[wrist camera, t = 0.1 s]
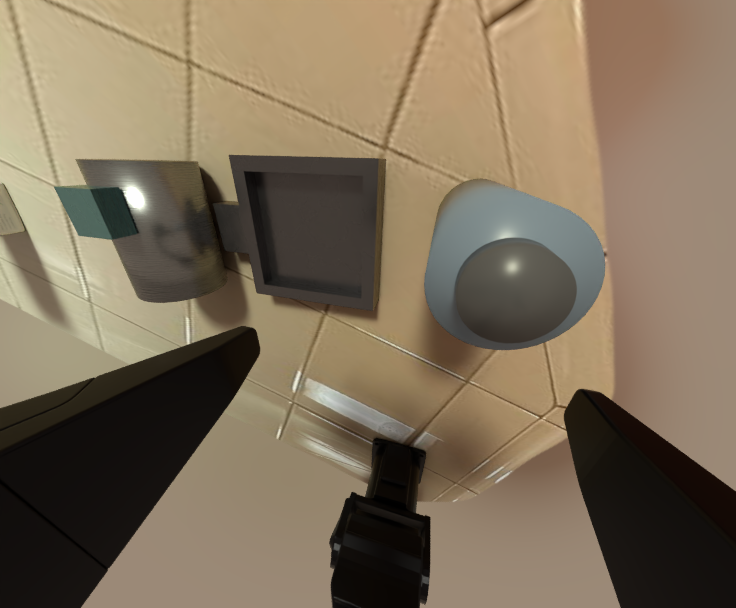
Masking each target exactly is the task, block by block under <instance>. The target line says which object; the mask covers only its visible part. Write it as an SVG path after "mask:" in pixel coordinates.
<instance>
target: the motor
mask: <svg viewBox="0 0 736 608" xmlns="http://www.w3.org/2000/svg"><path fill="white" fill-rule="evenodd" d="M229 159H230V164H231V169H232V174H233V178H234V183H235V188H236V193H237V198H238V202H234V201H224V202H218V203H213V206H214V210H215V214H216V218H217V222H218V226H219V230H220V234H221V238H222V242H223V246H224V250H225V251H231V252H240V253H248V254H249V258H250V263H251V268H252V272H253V277H254V282H255V287H256V292H257V293H259V294H266V295H272V296H279V297H285V298H292V299H298V300H305V301H311V302H318V303H324V304H330V305H337V306H343V307H350V308H356V309H363V310H369V311H373V310H374V308H375V306H376V304H377V302H378V300H379V286H380V266H381V245H382V225H383V205H384V185H385V164H386V159H375V158H334V157H292V156H250V155H229ZM75 160H76V162H77V164H78V166H79V168H80V171H81V173H82V175H83V177H84V180H85V182H86V184H87V185H76V186H58V187H54V188H55V190H56V192H57V194H58V196H59V198H60V200H61V202H62V204H63V206H64V208H65V210H66V212H67V213H68V215H69V217H70V219H71V221H72V223H73V225H74V227H75V229H76V231H77V233H78V235H79V236H86V237H94V238H102V239H111V240H112V242H113V244H114V246H115V248H116V251H117V253H118V255H119V257H120V259H121V262H122V264H123V266H124V268H125V271H126V273H127V275H128V277H129V279H130V282H131V284H132V286H133V288H134V290H135V293H136V295H137V297H138V298H139V299H141V300H143V301H147V302H156V303H166V302H177V301H183V300H188V299H193V298H197V297H200V296H203V295H206V294H209V293H211V292H213V291H215V290H217V289H219V288H221V287H222V286H223V285H224V284H225V283H226V282H227V274H226V271H225V267H224V263H223V259H222V255H221V251H220V247H219V243H218V239H217V235H216V231H215V227H214V223H213V219H212V215H211V212H210V208H209V204H208V200H207V196H206V192H205V188H204V184H203V180H202V176H201V172H200V168H199V164H198V162H197V161H167V160H117V159H75Z"/></svg>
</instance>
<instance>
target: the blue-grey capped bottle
mask: <svg viewBox="0 0 736 608" xmlns="http://www.w3.org/2000/svg"><path fill="white" fill-rule="evenodd" d="M604 275H605V258H604V252H603V249H602V246H601V243H600V241H599V239H598V237H597V235H596V233H595V232H594V231H593V230H592V228H591V227H590V226H589V225H588V224H587V223H586V222H585V221H584V220H583V219H582V218H581V217H579V216H578V215H576V214H575V213H573V212H571V211H570V210H568V209H565V208H563V207H561V206H558V205H556V204H553V203H550V202H548V201H545V200H542V199H539V198H537V197H534V196H531V195H529V194H526V193H523V192H521V191H518V190H515V189H513V188H510V187H507V186H505V185H502V184H499V183H497V182H494V181H491V180H487V179H473V180H469V181H465V182H463V183H461V184H459V185H457V186H456V187H454V188H453V189H452V190H451V191H450V192H449V193H448V194H447V195H446V196H445V197H444V199H443V201H442V202H441V204H440V206H439V209H438V213H437V218H436V223H435V228H434V233H433V238H432V243H431V248H430V253H429V258H428V263H427V268H426V273H425V283H424V286H425V295H426V300H427V303H428V306H429V308H430V311H431V312H432V314H433V316H434V317H435V319H436V320H437V321H438V323H439V324H440V325H441V326H442V327H443V328H444V329H445V330H446V331H447V332H449V333H450V334H451V335H453V336H454V337H456V338H458V339H459V340H461V341H463V342H466V343H468V344H471V345H474V346H477V347H481V348H486V349H493V350H515V349H522V348H528V347H531V346H535V345H539V344H541V343H544V342H547V341H549V340H551V339H553V338H555V337H557V336H559V335H561V334H562V333H564V332H565V331H567V330H569V329H570V328H571V327H572V326H574V325H575V324H576V323H577V322H578V321H579V320H580V319H581V318H582V317H583V316H584V315H585V314H586V313H587V312H588V310H589V309H590V308H591V307H592V305H593V303H594V302H595V300H596V298H597V297H598V294H599V292H600V290H601V287H602V284H603V280H604Z"/></svg>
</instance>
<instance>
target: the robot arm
mask: <svg viewBox="0 0 736 608" xmlns="http://www.w3.org/2000/svg"><path fill="white" fill-rule="evenodd" d="M259 354H260V345H259V340H258V336H257V332H256V330H255V329H254V328H251V327H246V326H241V327H238V328H235V329H232V330H229V331H226V332H223V333H220V334H218V335H215V336H212V337H209V338H206V339H203V340H200V341H197V342H194V343H192V344H189V345H186V346H183V347H180V348H177V349H174V350H171V351H169V352H166V353H163V354H160V355H157V356H154V357H151V358H148V359H146V360H143V361H140V362H137V363H134V364H131V365H128V366H125V367H122V368H120V369H117V370H114V371H111V372H108V373H105V374H103V375H99V376H97V377H96V378H91V379H88V380H85V381H82V382H79V383H76V384H73V385H71V386H67V387H64V388H61V389H58V390H56V391H53V392H50V393H47V394H44V395H41V396H37V397H34V398H31V399H28V400H25V401H22V402H18V403H15V404H12V405H9V406H6V407H3V408H0V608H81V607H82V605H83V604H84V602H85V601H86V600H87V598H88V597H89V596H90V594H91V593H92V592H93V590H94V589H95V587H96V586H97V585H98V583H99V582H100V581H101V579H102V578H103V577H104V575H105V574H106V572H107V571H108V568H110V566H111V565H112V564H113V562H114V561H115V560H116V558H117V557H118V556H119V554H120V553H121V551H122V550H123V549H124V547H125V546H126V545H127V543H128V542H129V541H130V539H131V538H132V537H133V535H134V534H135V532H136V531H137V530H138V528H139V527H140V526H141V524H142V523H143V521H144V520H145V519H146V517H147V516H148V515H149V513H150V512H151V511H152V509H153V508H154V506H155V505H156V504H157V502H158V501H159V500H160V498H161V497H162V496H163V494H164V493H165V491H166V490H167V488H168V487H169V486H170V485H171V483H172V482H173V480H174V479H175V478H176V476H177V475H178V474H179V472H180V471H181V470H182V468H183V466H184V465H185V464H186V463H187V461H188V460H189V459H190V457H191V456H192V454H193V453H194V452H195V450H196V449H197V447H198V446H199V445H200V444H201V442H202V441H203V439H204V438H205V437H206V435H207V434H208V433H209V431H210V430H211V428H212V427H213V426H214V424H215V423H216V422H217V420H218V419H219V418H220V416H221V415H222V413H223V412H224V411H225V409H226V408H227V407H228V405H229V404H230V402H231V401H232V400H233V398H234V397H235V395H236V393H237V392H238V390H239V389H240V387H241V385H242V384H243V382H244V380H245V379H246V377H247V375H248V373H249V372H250V370H251V368H252V367H253V365H254V363H255V362H256V360H257V358H258V357H259ZM564 422H565V426H566V431H567V435H568V439H569V444H570V448H571V452H572V457H573V461H574V466H575V470H576V475H577V478H578V482H579V486H580V489H581V492H582V495H583V498H584V501H585V504H586V507H587V510H588V513H589V516H590V519H591V522H592V525H593V528H594V530H595V533H596V536H597V539H598V542H599V545H600V548H601V551H602V554H603V557H604V560H605V563H606V566H607V569H608V571H609V575H610V577H611V580H612V583H613V586H614V589H615V592H616V595H617V598H618V601H619V604H620V607H621V608H736V491H734V490H733V489H732V488H730V487H729V486H728V485H726V484H725V483H724V482H722V481H721V480H719V479H718V478H717V477H715V476H714V475H712V474H711V473H710V472H708V471H707V470H706V469H704V468H703V467H702V466H700V465H699V464H698V463H696V462H695V461H694V460H692V459H691V458H689V457H688V456H687V455H685V454H684V453H683V452H681V451H680V450H678V449H677V448H676V447H674V446H673V445H672V444H670V443H669V442H668V441H666V440H665V439H663V438H662V437H661V436H659V435H658V434H657V433H655V432H654V431H653V430H651V429H650V428H648V427H647V426H646V425H644V424H643V423H642V422H640V421H639V420H638V419H636V418H635V417H634V416H632V415H631V414H629V413H628V412H627V411H625V410H624V409H623V408H621V407H620V406H619V405H617V404H616V403H614V402H613V401H612V400H610V399H609V398H608V397H606V396H605V395H604V394H602V393H600V392H597V391H592V390H587V389H579V390H577V391H576V392H575V394H574V396H573V397H572V399H571V401H570V403H569V404H568V406H567V408H566V410H565V413H564ZM425 459H426V452H425V451H423V450H420V449H416V448H412V447H408V446H405V445H401V444H397V443H393V442H389V441H386V440H382V439H378V438H375V439H374V440H373V448H372V467H371V469H372V471H371V475H370V479H369V483H368V487H367V491H366V495H365V497H363V496H360V495H357V494H356V493H354V492H352V493H351V496H350V498H347V499H346V500H345V504H344V507H343V510H342V513H341V516H340V518H339V521H338V523H337V525H336V527H335V529H334V531H333V533H332V536H331V538H330V542H329V544H330V547H331V549H332V552H331V564H330V567H331V568H332V569H334V572H333V576H332V580H331V599H332V608H420V603H422V604H424V605H425V604H426V601H427V596H428V587H429V576H430V517H429V516H426V515H425V516H423V515H419V514H417V513H416V505H417V494H418V484H419V483H420V482H421V477H422V472H423V468H424V463H425Z"/></svg>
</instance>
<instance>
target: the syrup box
mask: <svg viewBox="0 0 736 608" xmlns="http://www.w3.org/2000/svg"><path fill="white" fill-rule="evenodd" d="M24 231H25V229H24V226H23V224H22V221H21V219H20V216H19V214H18V212H17V210H16V208H15V206H14V204H13V202H12V200H11V198H10V196H9V194H8V192H7V190H6V189H5V187H4V184H3V183H1V182H0V236H2V235H8V234H13V233H19V232H24Z"/></svg>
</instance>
